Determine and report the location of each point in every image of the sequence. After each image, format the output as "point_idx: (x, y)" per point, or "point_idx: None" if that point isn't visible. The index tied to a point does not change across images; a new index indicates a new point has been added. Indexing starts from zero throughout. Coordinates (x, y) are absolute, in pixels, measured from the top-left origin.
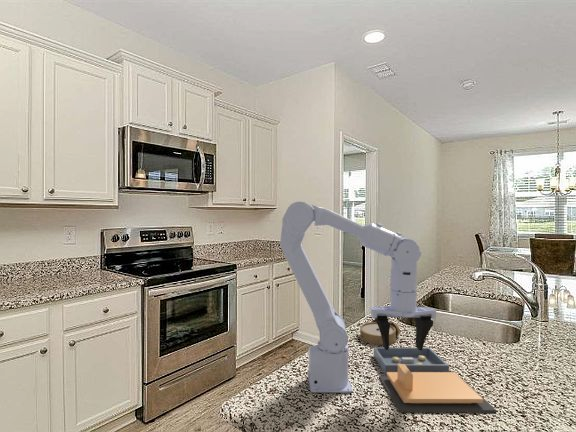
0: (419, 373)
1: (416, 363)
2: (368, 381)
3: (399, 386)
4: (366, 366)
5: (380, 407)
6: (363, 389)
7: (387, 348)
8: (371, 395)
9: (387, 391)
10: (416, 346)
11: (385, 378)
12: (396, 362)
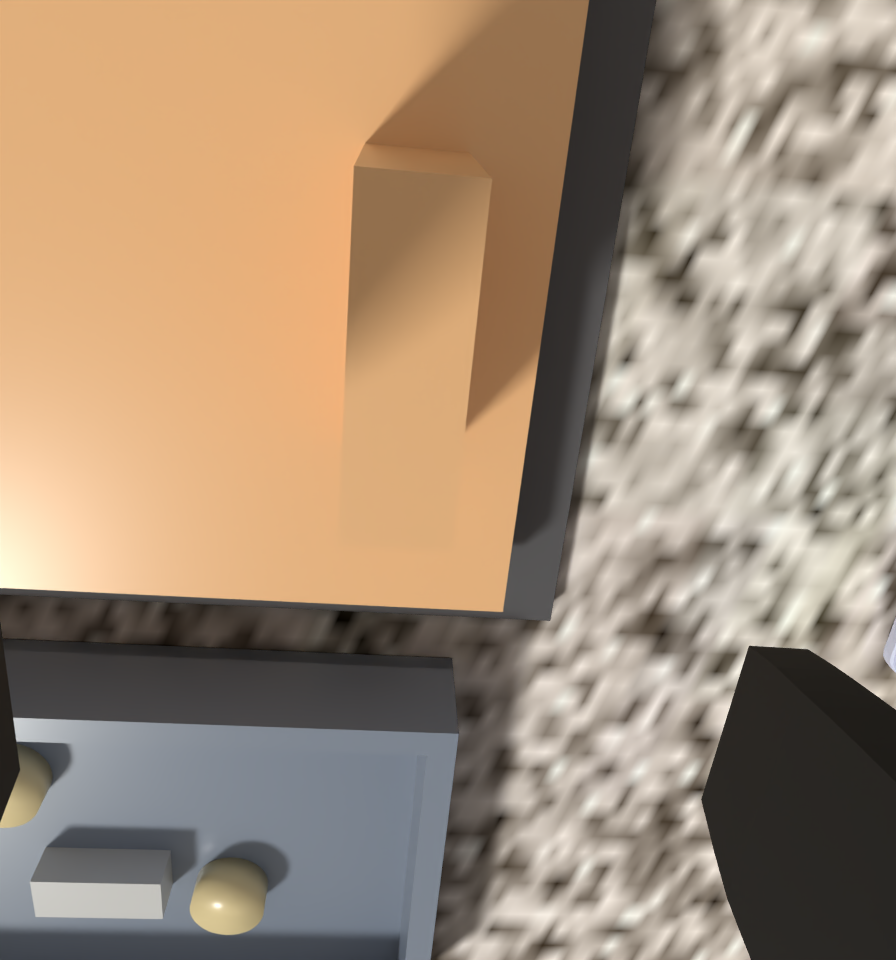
0: (91, 560)
1: (29, 812)
2: (693, 554)
3: (503, 262)
4: (573, 813)
5: (841, 6)
6: (830, 406)
7: (795, 664)
8: (807, 279)
9: (595, 331)
10: (8, 762)
11: None
12: (238, 858)
